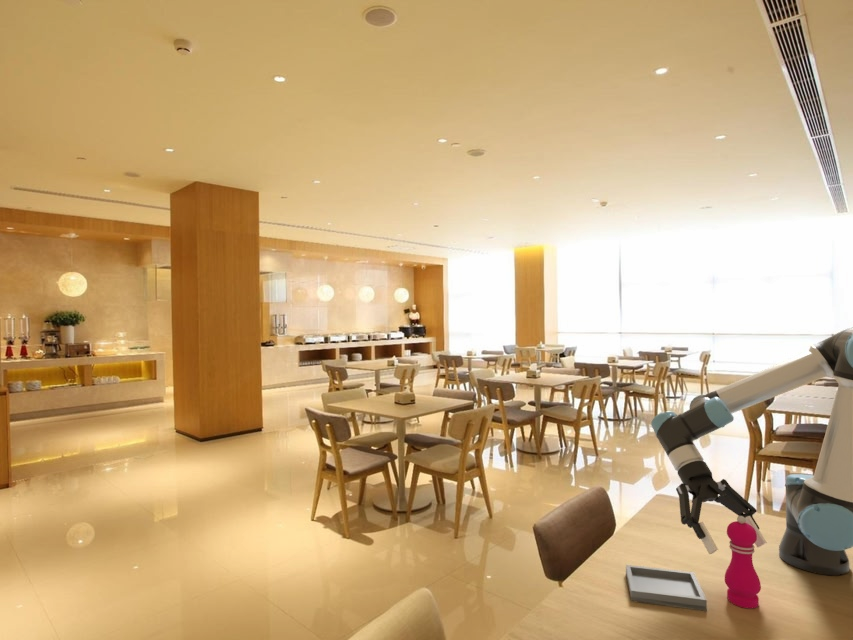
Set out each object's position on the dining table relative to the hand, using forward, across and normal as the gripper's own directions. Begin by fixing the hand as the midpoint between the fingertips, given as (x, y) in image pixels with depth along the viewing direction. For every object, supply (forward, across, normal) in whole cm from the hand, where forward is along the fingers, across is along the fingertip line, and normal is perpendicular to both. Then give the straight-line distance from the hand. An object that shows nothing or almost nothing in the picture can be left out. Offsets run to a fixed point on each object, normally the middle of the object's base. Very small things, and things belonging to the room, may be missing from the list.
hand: (738, 548), depth 119 cm
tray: (+3, +14, -14) cm, 20 cm away
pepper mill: (+9, -1, -8) cm, 12 cm away
